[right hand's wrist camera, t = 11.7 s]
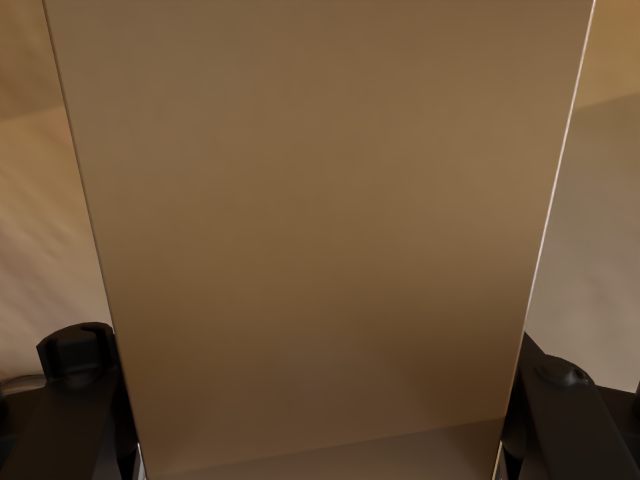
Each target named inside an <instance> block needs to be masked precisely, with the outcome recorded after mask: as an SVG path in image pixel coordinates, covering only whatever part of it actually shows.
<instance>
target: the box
mask: <svg viewBox="0 0 640 480" xmlns="http://www.w3.org/2000/svg"><path fill="white" fill-rule="evenodd" d="M42 3H43V8H44V12H45V17H46V21H47V26H48V31H49V35H50V40H51V44H52V49H53V53H54V58H55V63H56V67H57V72H58V76H59V81H60V86H61V90H62V95H63V99H64V104H65V108H66V113H67V118H68V122H69V127H70V131H71V136H72V141H73V145H74V150H75V154H76V159H77V163H78V168H79V173H80V177H81V182H82V186H83V191H84V196H85V200H86V205H87V209H88V214H89V218H90V223H91V228H92V232H93V237H94V241H95V246H96V251H97V255H98V260H99V264H100V269H101V273H102V278H103V283H104V287H105V292H106V296H107V301H108V306H109V310H110V315H111V319H112V324H113V328H114V333H115V338H116V342H117V347H118V351H119V356H120V360H121V365H122V370H123V374H124V379H125V383H126V388H127V393H128V397H129V402H130V406H131V411H132V415H133V420H134V425H135V429H136V434H137V438H138V443H139V448H140V452H141V457H142V461H143V466H144V470H145V475H146V480H492V477H493V472H494V468H495V463H496V459H497V454H498V449H499V445H500V440H501V436H502V431H503V426H504V422H505V417H506V413H507V408H508V404H509V399H510V394H511V390H512V385H513V381H514V376H515V371H516V367H517V362H518V358H519V353H520V349H521V344H522V339H523V335H524V330H525V326H526V321H527V317H528V312H529V307H530V303H531V298H532V294H533V289H534V284H535V280H536V275H537V271H538V266H539V262H540V257H541V252H542V248H543V243H544V239H545V234H546V229H547V225H548V220H549V216H550V211H551V207H552V202H553V197H554V193H555V188H556V184H557V179H558V175H559V170H560V165H561V161H562V156H563V152H564V147H565V142H566V138H567V133H568V129H569V124H570V120H571V115H572V110H573V106H574V101H575V97H576V92H577V87H578V83H579V78H580V74H581V69H582V65H583V60H584V55H585V51H586V46H587V42H588V37H589V33H590V28H591V23H592V19H593V14H594V10H595V5H596V0H42Z"/></svg>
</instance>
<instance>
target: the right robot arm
mask: <svg viewBox="0 0 640 480" xmlns="http://www.w3.org/2000/svg"><path fill="white" fill-rule="evenodd" d="M36 348H37V351H38V355H39V358H40V361H41V364H42V368H43V371H44V374H45V375H31V376H25V377H21V378H17V379H14V380H11V381H9V382H7V383H5V384H3V385H1V383H0V480H144V479H145V477H146V475H145V470H144V466H143V461H142V457H141V452H140V448H139V443H138V438H137V434H136V429H135V425H134V420H133V415H132V411H131V406H130V402H129V397H128V393H127V388H126V383H125V379H124V374H123V370H122V365H121V360H120V356H119V351H118V347H117V342H116V338H115V334H113V329H112V327H110V326H109V325H108V324H105V323H100V322H87V323H80V324H76V325H72V326H68V327H66V328H63V329H61V330H58V331H56V332H54V333H52V334H51V335H49V336H47V337H46V338H44V339H43V340H42V341H41V342H40V343H39V344H38V345H37V346H36ZM501 442H502V447H501V451H500V456H499V460H498V465H497V470H496V474H495V479H494V480H501V478H502V480H640V382H639V385H638V387H637V390H636V393H631V392H626V391H621V390H616V389H611V388H606V387H602V386H598V385H595V383H594V381H593V380H592V379H591V378H590V376H589V375H588V374H587V373H586V372H585V371H584V370H582V369H581V368H579V367H578V366H577V365H575V364H573V363H571V362H569V361H567V360H564V359H562V358H559V357H555V356H551V355H546V354H545V353H544V352H543V351H542V350H541V349H540V348H539V347H538V346H537V344H536V343H535V342H534V341H533V340H532V339H531V338H530V337H529V336H528V334H527V333H526V332H525V331H524V335H523V339H522V344H521V349H520V353H519V358H518V362H517V367H516V371H515V376H514V381H513V385H512V390H511V394H510V399H509V404H508V408H507V413H506V417H505V422H504V426H503V431H502V436H501Z"/></svg>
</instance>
